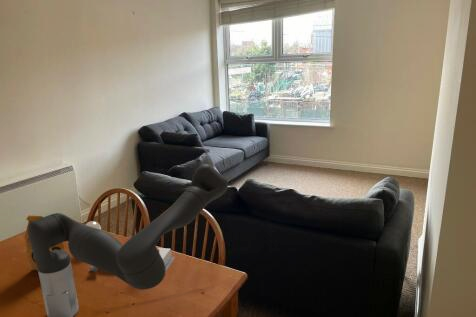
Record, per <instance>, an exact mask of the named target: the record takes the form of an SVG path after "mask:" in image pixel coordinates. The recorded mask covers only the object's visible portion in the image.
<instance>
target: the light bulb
mask: <svg viewBox="0 0 476 317" xmlns="http://www.w3.org/2000/svg"><path fill="white" fill-rule="evenodd" d="M85 225H87V226H90V227H94V228H97V229H100V230H102V226H101V225H100V223H99V222H98V221H95V220H94V221H93V220H91V221H88V222H87V223H86V224H85Z"/></svg>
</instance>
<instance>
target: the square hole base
mask: <svg viewBox="0 0 476 317" xmlns="http://www.w3.org/2000/svg"><path fill="white" fill-rule="evenodd" d="M157 248H158V249H159V252H160V255H161V257H162V259H163V261H164V264H165V269H166V271H167V270H168V269H169V267H170V266H171V265H172V263H173V262H174V260H175V258H176V257H175V256H172V249H171V248H164V247H157ZM89 271H90V272H98V271H99V268H96V267H94V266H92V265H90V266H89Z"/></svg>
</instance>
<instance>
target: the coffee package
mask: <svg viewBox="0 0 476 317" xmlns="http://www.w3.org/2000/svg"><path fill="white" fill-rule="evenodd" d="M43 217H44V216H42V215H28V216H27V217H26V221H28V222H27V227H26V229H25V230H26V231H25V234H24V240H25V244H26V245H25V246H26V249H27V254H28V255H27V256H28V260H29V264H30V268H31V270H33V271H37V272H38V268H37V265H36V262H35V259H34V255H33V251H32V247H31V243H30V240H29V236H28V225H29V223H30V222H32V221H35V220H37V219H40V218H43ZM52 250H63V251H66V249H65V245H64V242H62V243H60V244H57V245H55V246H53V247H50V251H52Z"/></svg>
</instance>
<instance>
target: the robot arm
mask: <svg viewBox="0 0 476 317" xmlns="http://www.w3.org/2000/svg"><path fill="white" fill-rule="evenodd" d="M228 187H229V182H228V180H227V178H226V177H225V176H224V175H222V174H221V173H220V172H219V171H217V170H216V169H215V168H214V167H213V166H212V165H210V164H208V163H206V164H205V163H204V164H201V165H199V166H198V167H197V168H196V169H195V171H194V173H193V175H192V178H191V181H190V186H189V187H188V188H187V189H186V190H184V192H183V193H182V194H181V195H180V196H179V197H178V198H177V199H176V200H175V201H174V203H173V204H171V206H169V207H168V209H167V210H165V211H163V212H162V213H161V214H160V215H159V216H157V217H156V218H155V219H154V220H152V221H150V223H148V224H146V226H144V227H143V228H142V229H140V230H139V231H138V232H136V233H135V234H134V235H133V236H132V237H130V238H129V239H127V241H126V242H125V243H124V244H123V243H122V242H121V241H119V240H118V239H117V238H116V237H115V236H113V235H112V234H111V233H109V232H107V231H105V230H103V229H101V230H100V229H97V228H94V227H90V226H87V225H86V224H84V223H82V222H79V221H77V220H75V219H73V218H71V217H69V216H68V215H65V214H63V213H60V212H56V213H52V214H48V215H46V216H43V218H40V219H37V220H35V221H32V222H30V223H29V225H28V224H27V226H28V236H29V240H30V243H31V247H32V251H33V255H34V259H35V262H36V265H37V268H38V271H37V272H38V273H37V274H38V277H39V281H40V283H39V284H40V289H41V293H42V297H43V302H44V308H45V312H46V316H47V317H74V316H75V315H76V314H77V313H78V312H79V309H80V307H79V302H78V301H79V300H78V296H77V290H76V284H75V277H74V273H73V267H72V260H71V256H72V257H73V258H75V259H76V260H78V261H80V262H82V263H84V264H86V265H89V266H94V267H96V268H98V270H101V271H103V272H106V273H109V274H111V275H113V276H114V277H117V278H118V279H119V280H121V281H122V282H124V283H126V284H127V285H129V286H130V287H131V288H133V289H136V290H141V291H142V290H143V291H144V290H149V289H153V288H156V287H157V286H158V285H159V284H160V283H162V281H163V280H164V278H165V276H166V272H167V270H166V269H165V264H164V261H163V259H162V257H161V255H160V253H159V252H158V250H157V248H158V247H157V244H158V242H159V241H160V239H161V238H162V237H163V236H165V234H167V233H168V232H171V231H174V230H177V229H180V228H184V227H186V226H188V225H190V224H192V222H194V220H195V219H196V218H197V217H198V216H199V215H200V213H201V212H203V210H204V208H206V206H208V204H210V203H211V202H213V201H215V200H216V199H218V198H220V197H221V196H222V195H224V194H225V193H226V192H227V190H228ZM62 242H63V243H64V242H67V244H68V251H69V252H68V251H66V250H65V251H63V250H52V251H50V247H53V246H55V245H57V244H60V243H62Z"/></svg>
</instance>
